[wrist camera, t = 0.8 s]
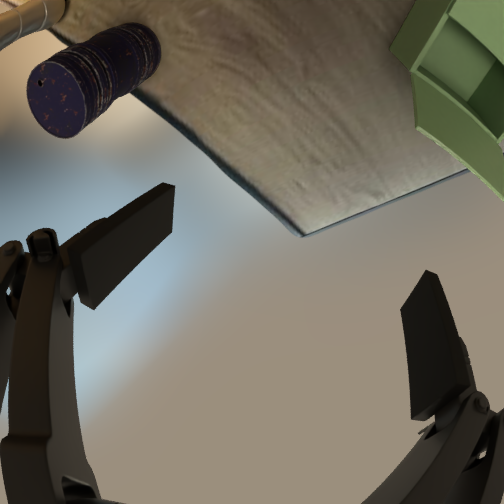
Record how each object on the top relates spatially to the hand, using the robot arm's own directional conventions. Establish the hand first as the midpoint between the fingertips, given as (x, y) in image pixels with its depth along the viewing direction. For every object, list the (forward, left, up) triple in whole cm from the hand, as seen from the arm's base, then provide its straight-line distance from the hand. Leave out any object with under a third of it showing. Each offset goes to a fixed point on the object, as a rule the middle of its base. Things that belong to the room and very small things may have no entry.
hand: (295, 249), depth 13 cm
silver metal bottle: (-18, -37, -25) cm, 48 cm away
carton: (-10, +15, -25) cm, 31 cm away
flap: (-2, +13, -12) cm, 17 cm away
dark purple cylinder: (-5, -25, -25) cm, 36 cm away
